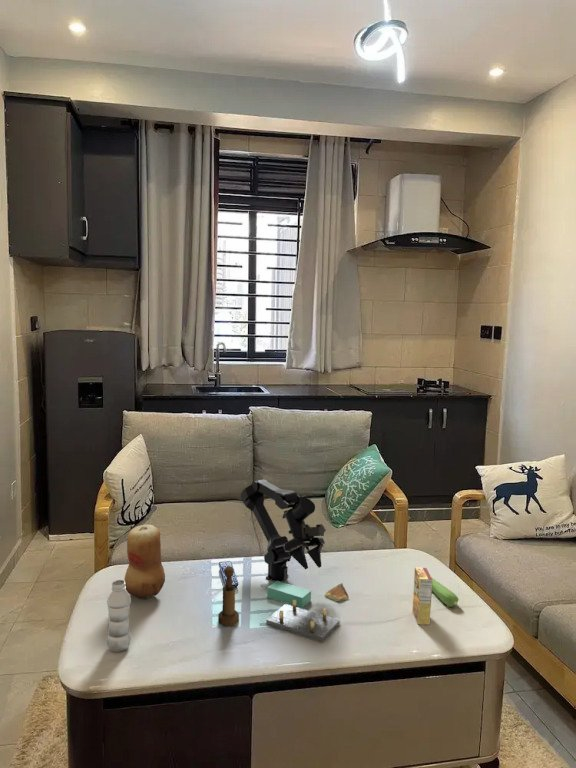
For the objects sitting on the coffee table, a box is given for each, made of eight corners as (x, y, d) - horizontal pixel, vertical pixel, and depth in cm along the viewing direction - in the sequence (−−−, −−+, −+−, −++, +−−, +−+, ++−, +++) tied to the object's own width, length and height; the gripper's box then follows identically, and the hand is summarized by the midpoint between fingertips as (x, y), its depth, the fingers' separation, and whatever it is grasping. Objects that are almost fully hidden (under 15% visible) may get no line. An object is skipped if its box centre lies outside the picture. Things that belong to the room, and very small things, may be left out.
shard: (341, 586, 207) (341, 582, 207) (359, 593, 202) (359, 588, 202) (323, 597, 199) (323, 592, 199) (341, 604, 194) (341, 599, 194)
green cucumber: (447, 598, 190) (459, 593, 191) (419, 574, 209) (430, 570, 210) (450, 612, 191) (462, 607, 192) (422, 587, 210) (433, 583, 211)
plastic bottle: (109, 642, 168) (108, 577, 166) (133, 641, 168) (132, 577, 166) (104, 655, 161) (103, 588, 159) (129, 654, 162) (128, 587, 160)
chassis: (266, 623, 180) (266, 610, 179) (285, 607, 190) (285, 595, 190) (322, 642, 170) (322, 628, 170) (339, 624, 180) (339, 611, 180)
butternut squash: (116, 601, 193) (115, 530, 190) (140, 584, 205) (139, 517, 202) (150, 609, 187) (149, 536, 185) (173, 592, 200) (172, 523, 197)
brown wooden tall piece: (242, 618, 183) (242, 564, 181) (233, 628, 177) (234, 573, 175) (223, 614, 185) (223, 561, 183) (214, 624, 179) (214, 569, 177)
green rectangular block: (267, 598, 197) (267, 587, 197) (276, 591, 203) (276, 580, 202) (302, 609, 190) (302, 597, 190) (310, 601, 195) (311, 590, 195)
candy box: (411, 610, 190) (413, 567, 188) (424, 611, 190) (426, 567, 188) (417, 624, 181) (419, 578, 179) (430, 625, 181) (433, 579, 179)
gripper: (301, 514, 190) (319, 559, 183) (327, 515, 205) (344, 557, 198) (276, 528, 194) (292, 573, 187) (303, 528, 209) (319, 570, 202)
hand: (313, 568), depth 193 cm, fingers open, 9 cm apart
